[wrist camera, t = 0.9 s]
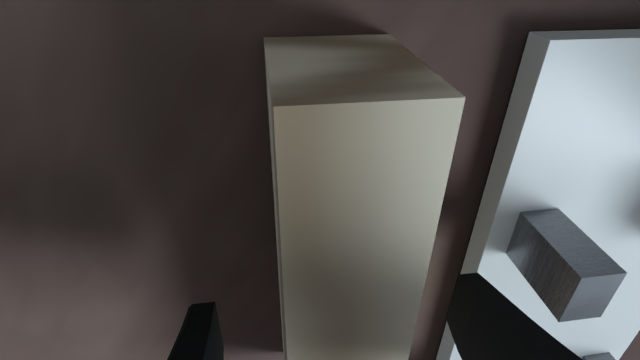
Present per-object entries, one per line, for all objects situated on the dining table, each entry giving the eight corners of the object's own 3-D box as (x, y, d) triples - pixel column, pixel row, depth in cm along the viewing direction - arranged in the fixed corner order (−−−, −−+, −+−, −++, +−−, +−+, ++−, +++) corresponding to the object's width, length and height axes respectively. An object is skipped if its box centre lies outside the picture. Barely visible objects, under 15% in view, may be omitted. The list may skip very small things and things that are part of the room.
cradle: (810, 25, 13) (1012, 63, 10) (561, 411, 26) (609, 486, 23) (529, 31, 12) (646, 79, 8) (414, 434, 25) (441, 518, 21)
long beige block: (386, 32, 12) (465, 97, 7) (356, 338, 19) (387, 455, 15) (262, 35, 11) (273, 106, 7) (283, 348, 19) (293, 470, 15)
